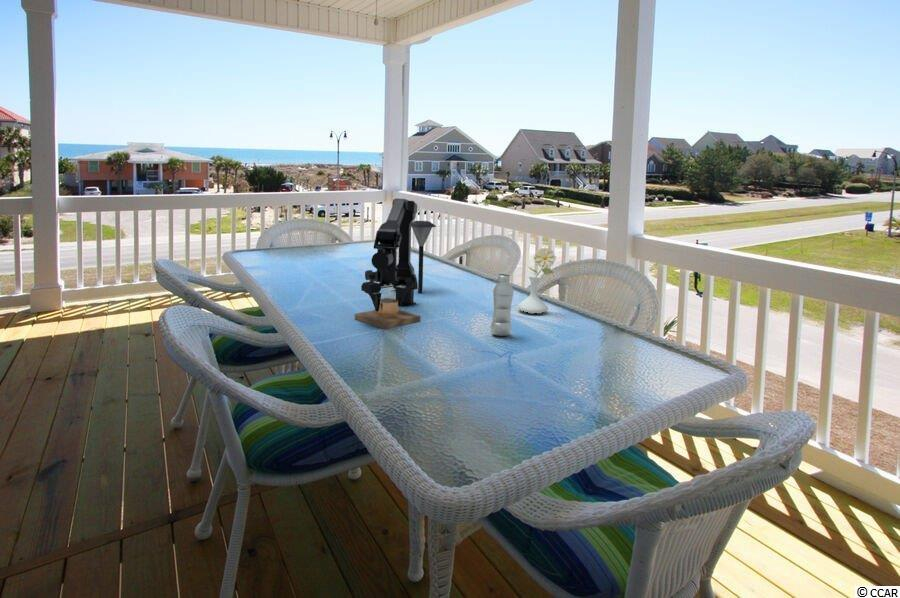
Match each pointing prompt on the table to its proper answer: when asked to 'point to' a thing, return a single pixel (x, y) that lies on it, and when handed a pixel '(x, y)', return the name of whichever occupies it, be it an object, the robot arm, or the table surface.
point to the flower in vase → (533, 302)
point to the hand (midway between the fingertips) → (387, 309)
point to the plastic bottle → (502, 306)
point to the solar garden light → (421, 244)
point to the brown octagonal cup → (388, 309)
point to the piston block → (387, 318)
